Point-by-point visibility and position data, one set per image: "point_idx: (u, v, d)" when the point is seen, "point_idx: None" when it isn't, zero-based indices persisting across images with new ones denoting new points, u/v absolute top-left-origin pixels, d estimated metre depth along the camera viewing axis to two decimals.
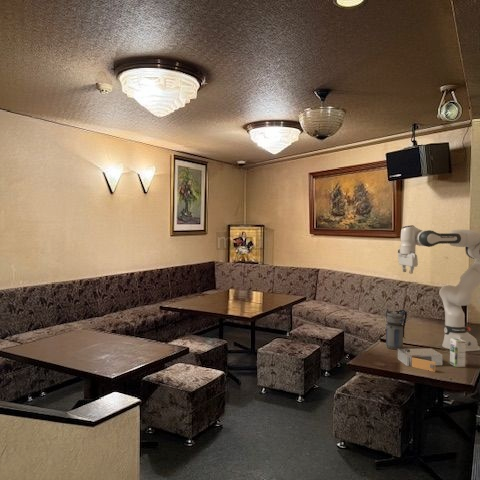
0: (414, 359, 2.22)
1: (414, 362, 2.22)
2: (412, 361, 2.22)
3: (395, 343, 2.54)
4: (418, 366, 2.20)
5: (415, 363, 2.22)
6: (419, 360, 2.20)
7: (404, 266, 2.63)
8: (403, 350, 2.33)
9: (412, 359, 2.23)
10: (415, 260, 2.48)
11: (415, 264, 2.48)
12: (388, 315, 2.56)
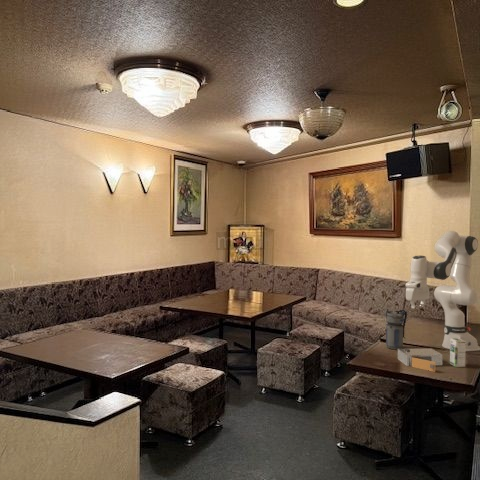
0: (414, 359, 2.22)
1: (414, 362, 2.22)
2: (412, 361, 2.22)
3: (395, 343, 2.54)
4: (418, 366, 2.20)
5: (415, 363, 2.22)
6: (419, 360, 2.20)
7: None
8: (403, 350, 2.33)
9: (412, 359, 2.23)
10: None
11: None
12: (388, 315, 2.56)
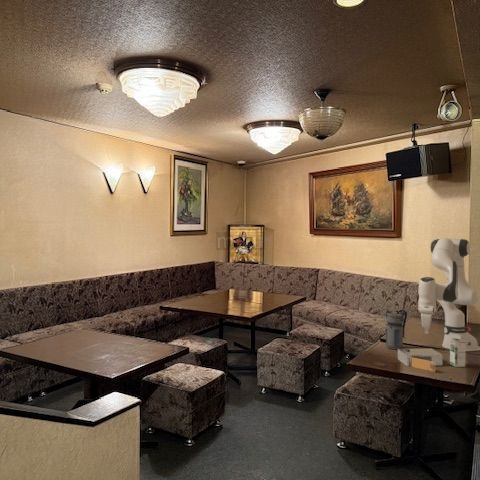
0: (414, 359, 2.22)
1: (414, 362, 2.22)
2: (412, 361, 2.22)
3: (395, 343, 2.54)
4: (418, 366, 2.20)
5: (415, 363, 2.22)
6: (419, 360, 2.20)
7: None
8: (403, 350, 2.33)
9: (412, 359, 2.23)
10: None
11: None
12: (388, 315, 2.56)
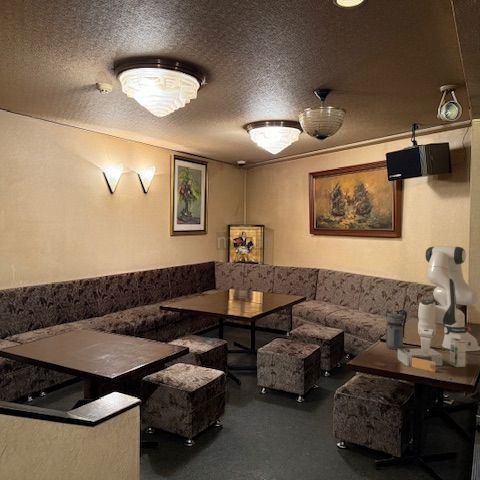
0: (414, 359, 2.22)
1: (414, 362, 2.22)
2: (412, 361, 2.22)
3: (395, 343, 2.54)
4: (418, 366, 2.20)
5: (415, 363, 2.22)
6: (419, 360, 2.20)
7: None
8: (403, 350, 2.33)
9: (412, 359, 2.23)
10: None
11: None
12: (388, 315, 2.56)
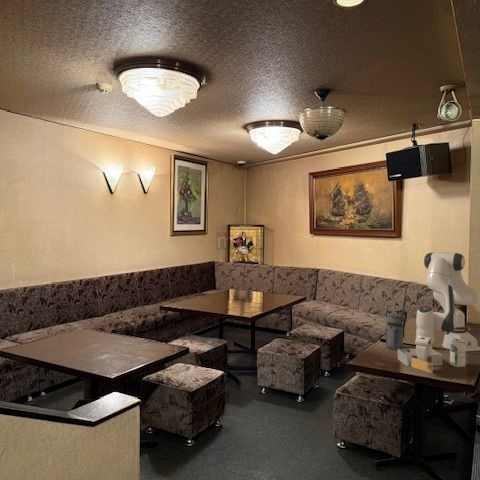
0: (413, 359, 2.22)
1: (414, 363, 2.21)
2: (412, 361, 2.22)
3: (395, 343, 2.54)
4: (417, 366, 2.20)
5: (414, 363, 2.21)
6: (418, 360, 2.19)
7: None
8: (403, 350, 2.33)
9: (412, 359, 2.23)
10: None
11: None
12: (388, 315, 2.56)
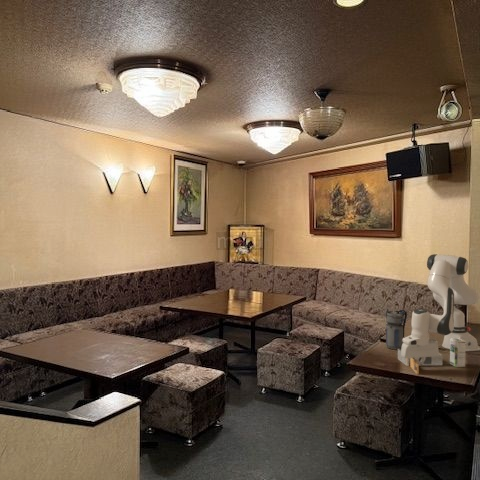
0: (411, 359, 2.22)
1: (411, 363, 2.21)
2: (410, 361, 2.22)
3: (395, 343, 2.54)
4: (412, 367, 2.20)
5: (411, 363, 2.21)
6: (412, 361, 2.19)
7: None
8: None
9: (410, 359, 2.23)
10: None
11: None
12: (388, 315, 2.56)
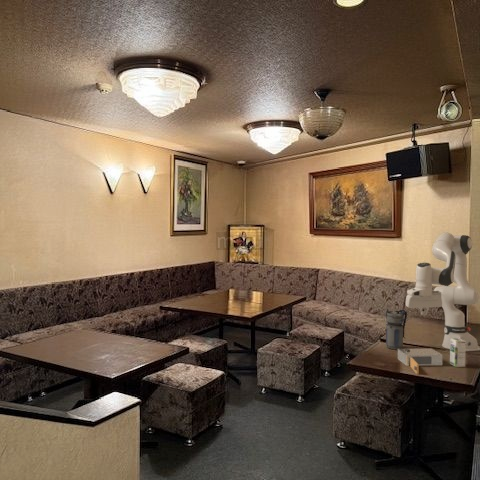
0: (411, 359, 2.22)
1: (411, 363, 2.21)
2: (410, 361, 2.22)
3: (395, 343, 2.54)
4: (412, 367, 2.20)
5: (411, 363, 2.21)
6: (412, 361, 2.19)
7: None
8: (403, 350, 2.33)
9: (410, 359, 2.23)
10: None
11: None
12: (388, 315, 2.56)
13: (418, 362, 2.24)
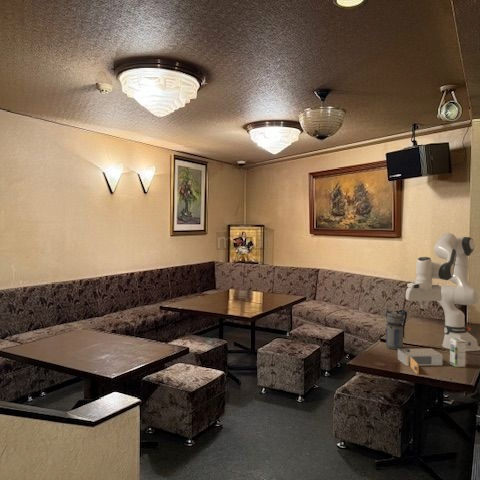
0: (411, 359, 2.22)
1: (411, 363, 2.21)
2: (410, 361, 2.22)
3: (395, 343, 2.54)
4: (412, 367, 2.20)
5: (411, 363, 2.21)
6: (412, 361, 2.19)
7: None
8: (403, 350, 2.33)
9: (410, 359, 2.23)
10: None
11: None
12: (388, 315, 2.56)
13: (418, 362, 2.24)
